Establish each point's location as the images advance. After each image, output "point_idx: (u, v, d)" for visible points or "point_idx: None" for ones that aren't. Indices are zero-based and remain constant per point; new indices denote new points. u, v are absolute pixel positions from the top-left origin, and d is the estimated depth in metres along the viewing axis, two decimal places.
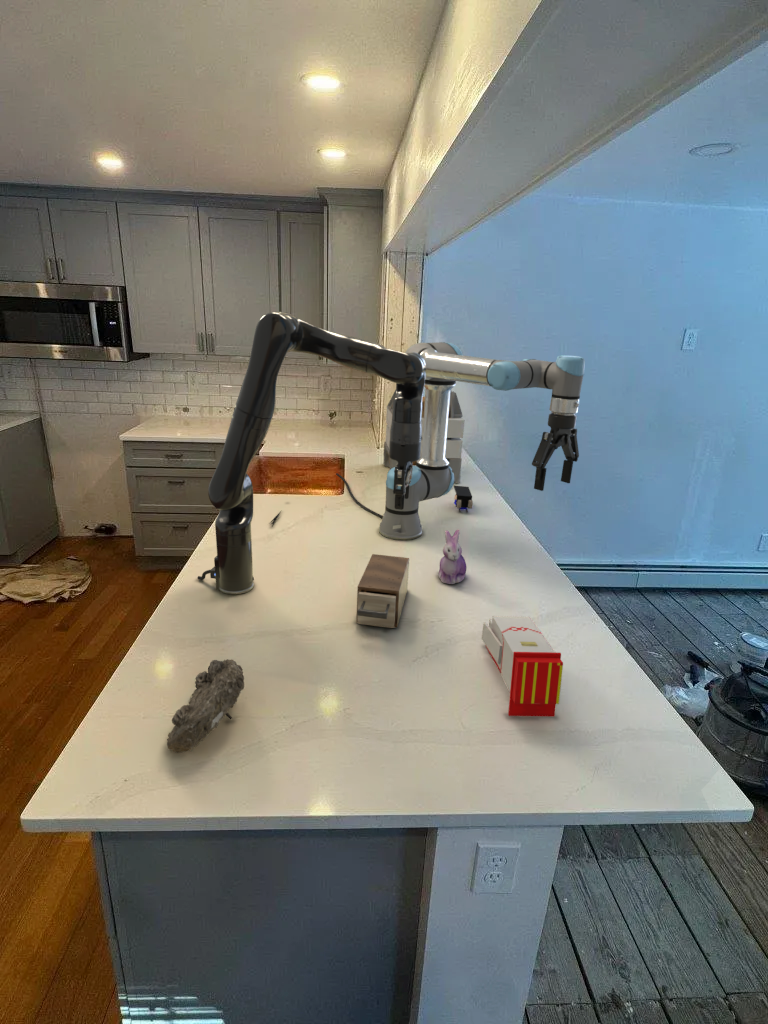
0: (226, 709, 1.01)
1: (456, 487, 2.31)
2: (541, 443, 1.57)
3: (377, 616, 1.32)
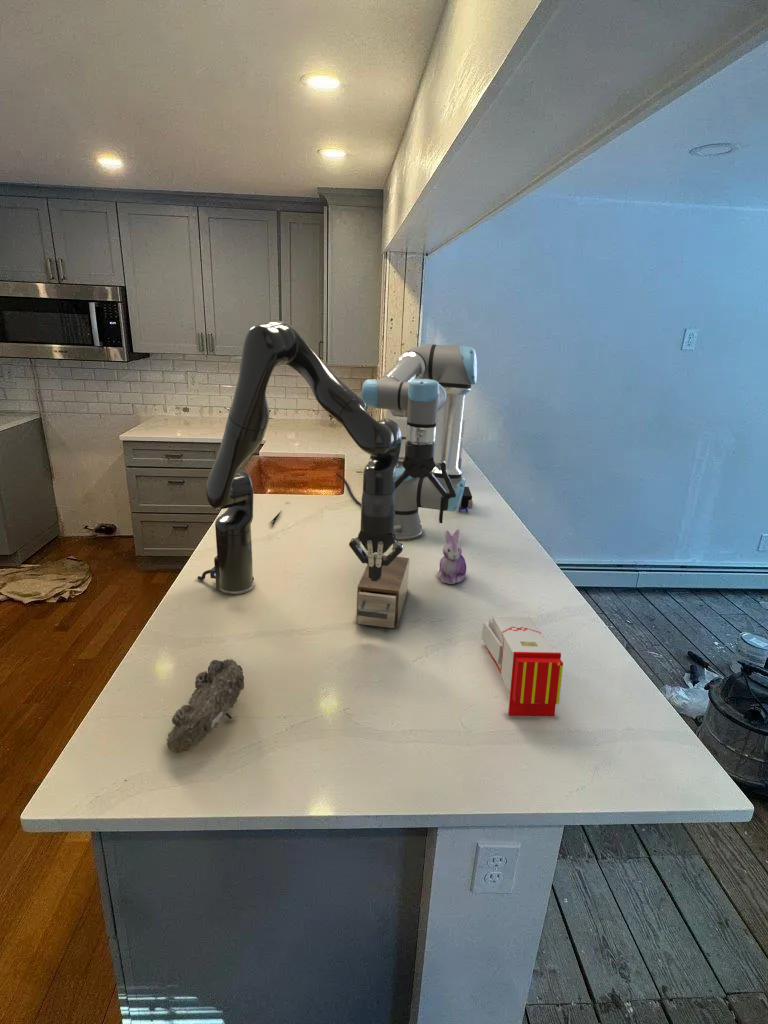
0: (226, 709, 1.01)
1: None
2: None
3: (377, 616, 1.32)
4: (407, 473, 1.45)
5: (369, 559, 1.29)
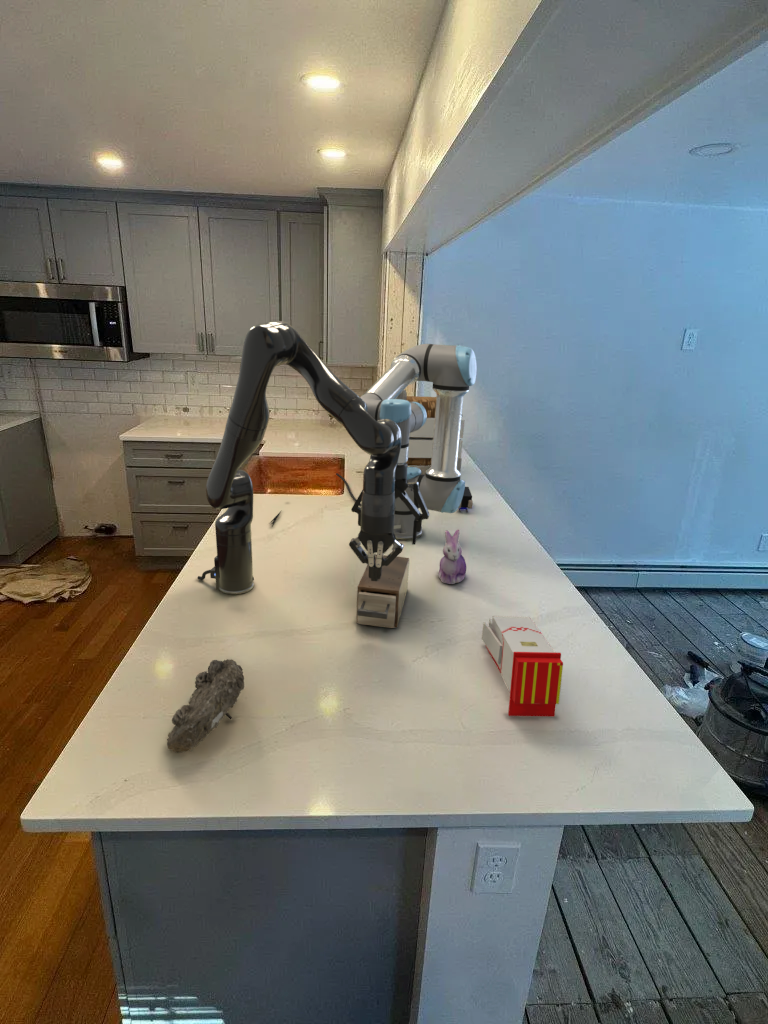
0: (226, 709, 1.01)
1: None
2: None
3: (377, 616, 1.32)
4: None
5: (369, 559, 1.29)
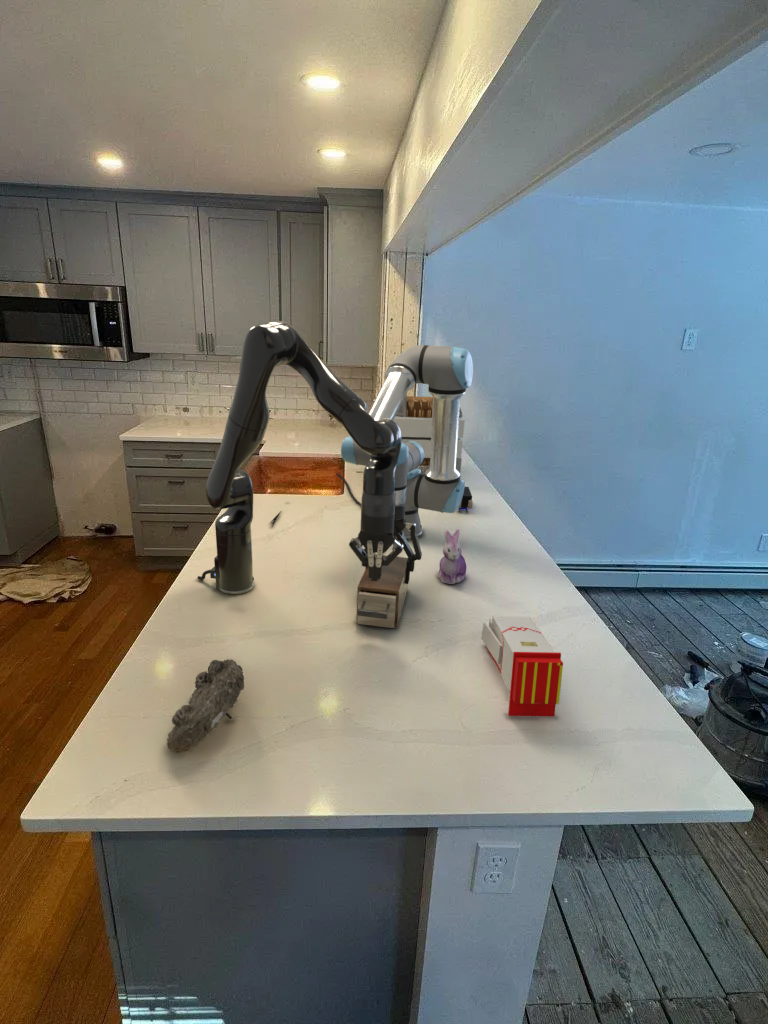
0: (226, 709, 1.01)
1: None
2: None
3: (377, 616, 1.32)
4: None
5: (369, 559, 1.29)
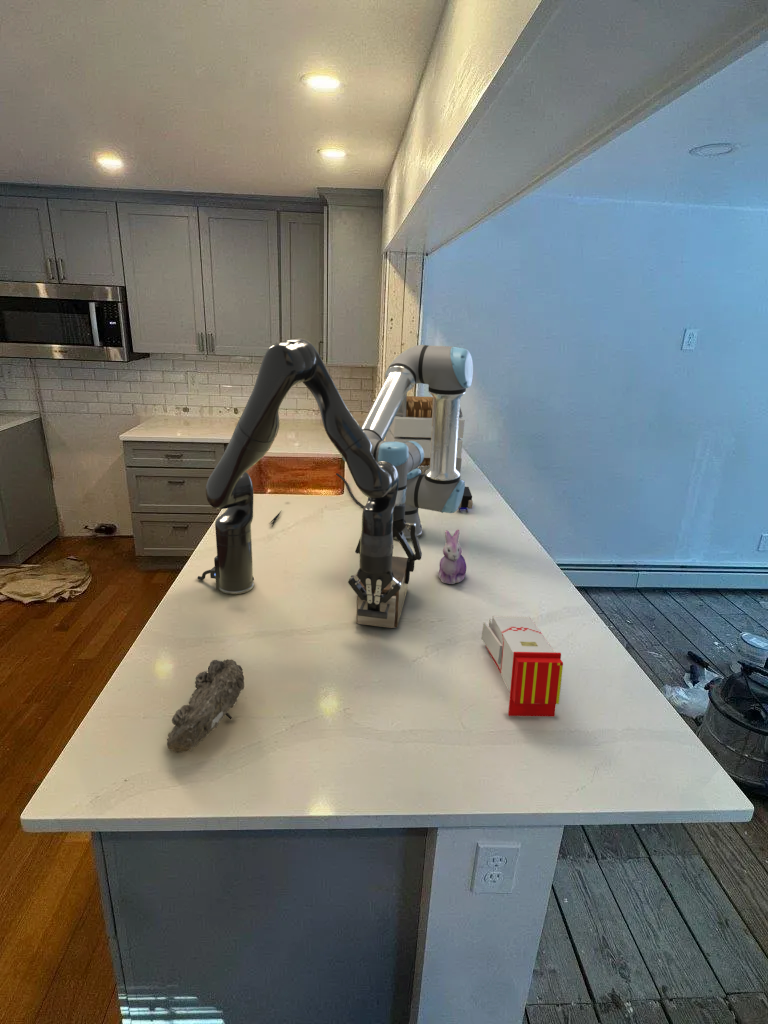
0: (226, 709, 1.01)
1: None
2: None
3: (377, 616, 1.32)
4: None
5: (368, 596, 1.32)
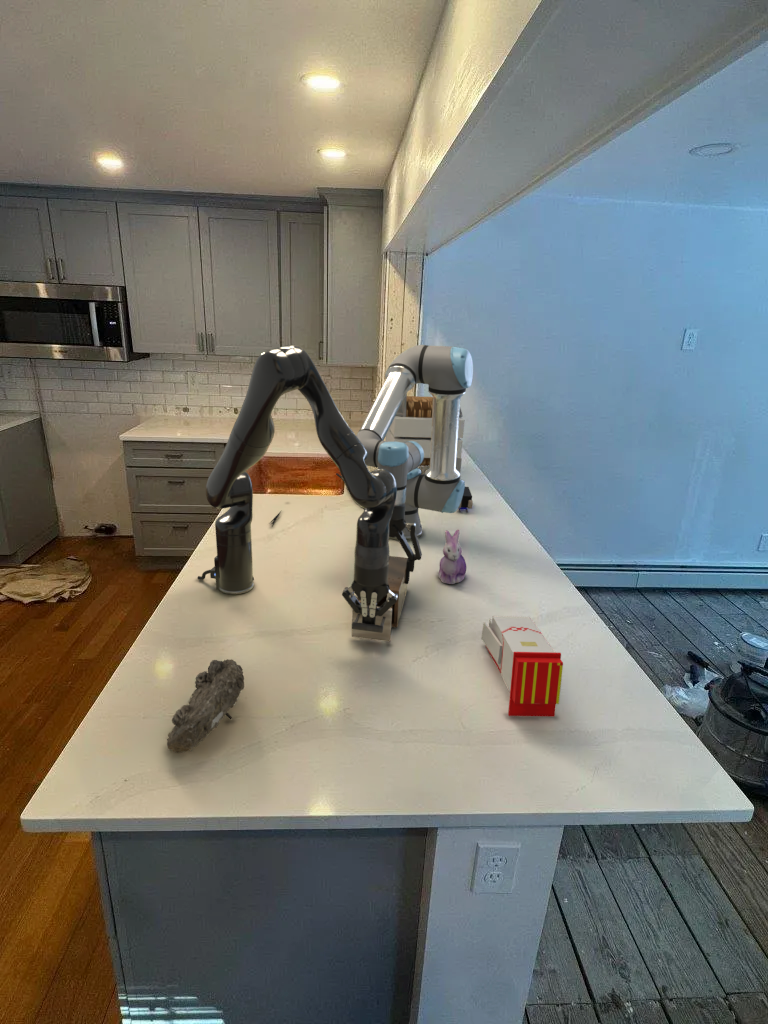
0: (226, 709, 1.01)
1: None
2: None
3: (372, 630, 1.26)
4: None
5: (362, 609, 1.27)
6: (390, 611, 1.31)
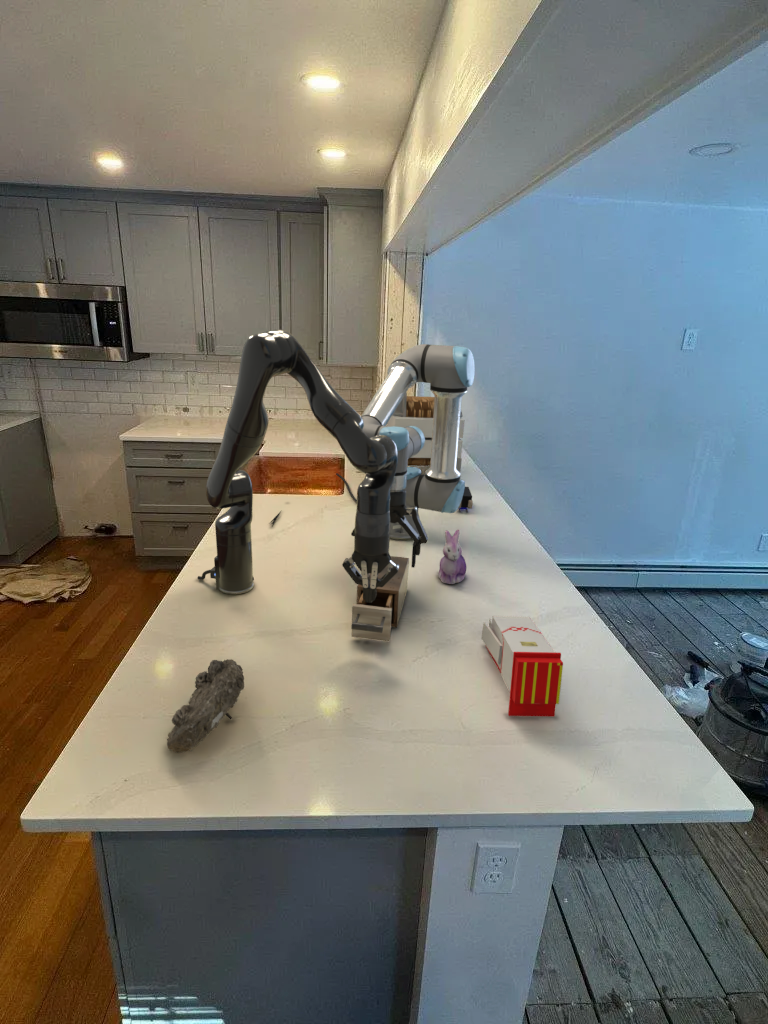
0: (226, 709, 1.01)
1: None
2: None
3: (372, 630, 1.26)
4: None
5: (363, 580, 1.24)
6: (390, 611, 1.31)
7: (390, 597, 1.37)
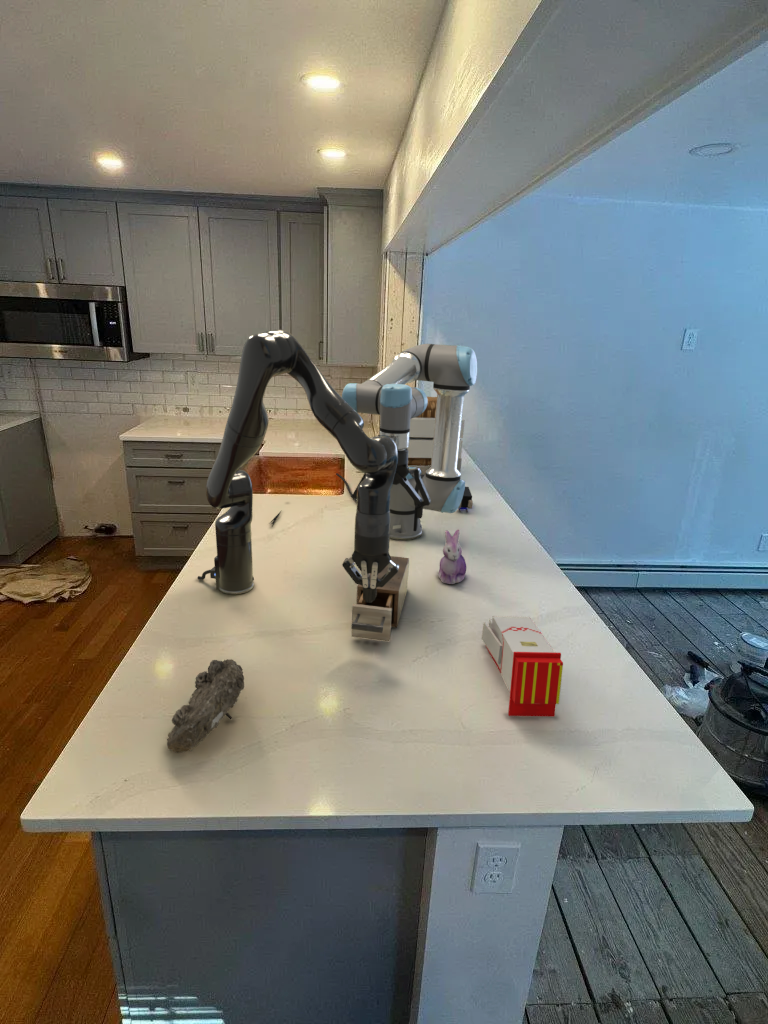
0: (226, 709, 1.01)
1: None
2: None
3: (372, 630, 1.26)
4: None
5: (363, 580, 1.24)
6: (390, 611, 1.31)
7: (390, 597, 1.37)
